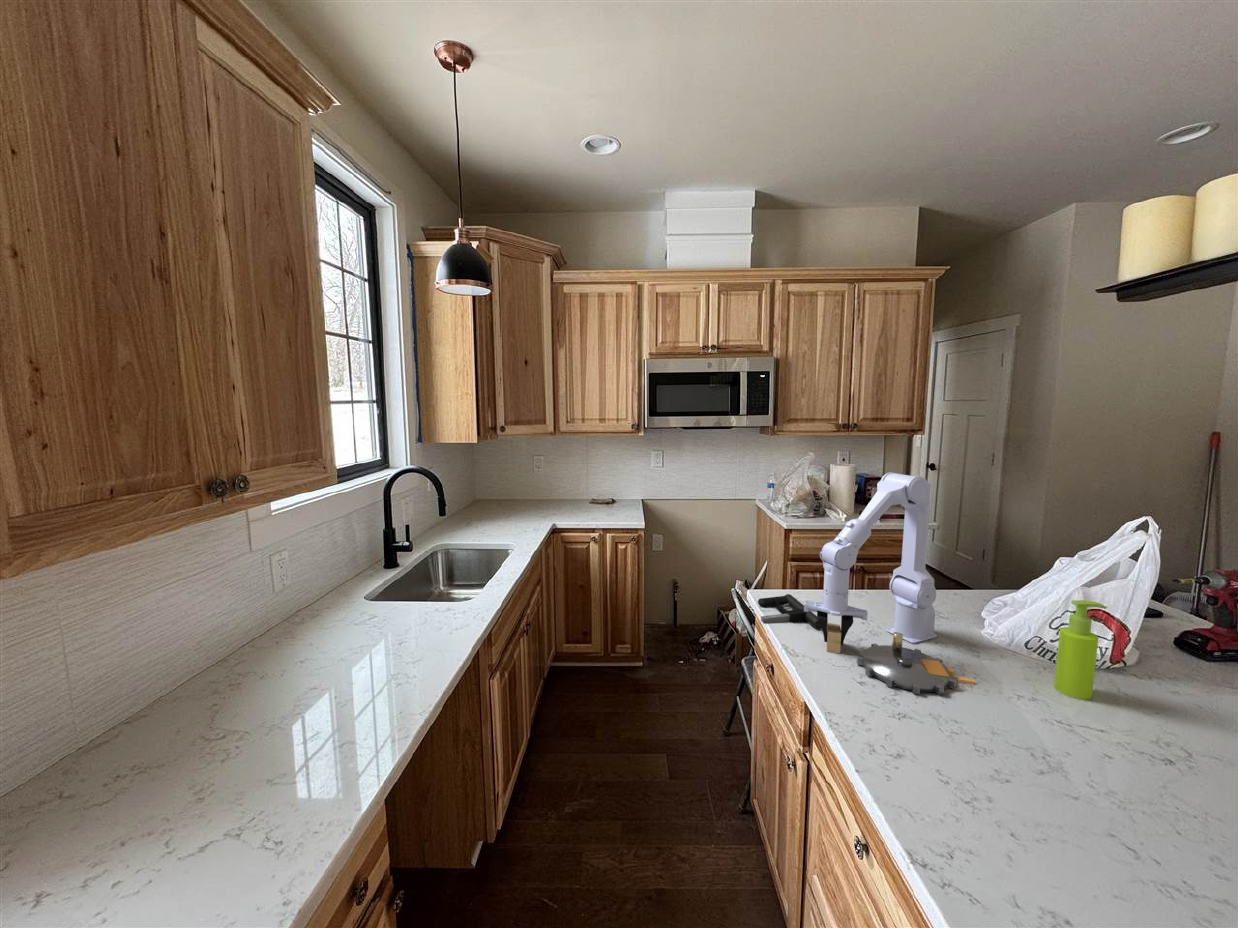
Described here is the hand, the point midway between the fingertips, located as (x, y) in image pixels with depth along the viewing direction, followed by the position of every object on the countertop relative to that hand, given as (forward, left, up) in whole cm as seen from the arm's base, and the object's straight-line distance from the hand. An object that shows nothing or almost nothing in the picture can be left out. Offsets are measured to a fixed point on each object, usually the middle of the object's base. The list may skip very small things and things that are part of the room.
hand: (833, 641), depth 123 cm
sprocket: (-6, +15, -1) cm, 16 cm away
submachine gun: (-2, -20, -2) cm, 20 cm away
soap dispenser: (-32, +35, -2) cm, 47 cm away
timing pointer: (-15, +24, -1) cm, 28 cm away
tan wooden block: (0, 0, -1) cm, 1 cm away
